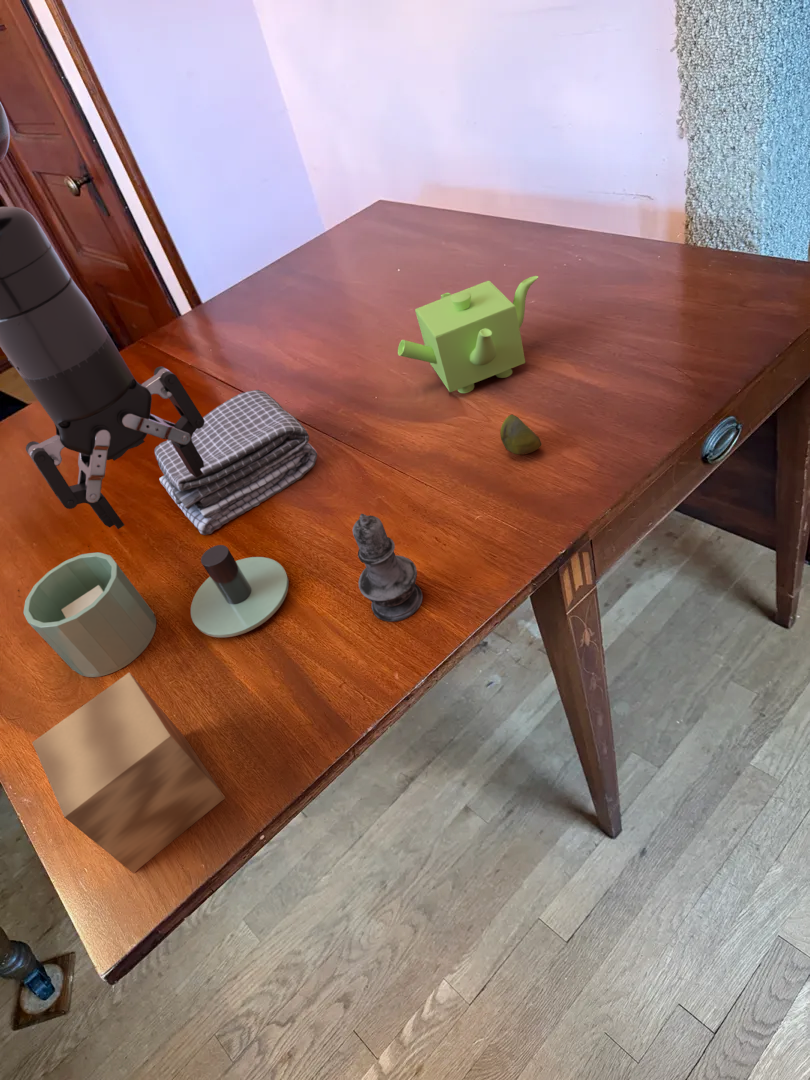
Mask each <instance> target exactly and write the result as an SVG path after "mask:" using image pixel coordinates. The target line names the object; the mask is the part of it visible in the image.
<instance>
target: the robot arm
mask: <svg viewBox="0 0 810 1080" xmlns="http://www.w3.org/2000/svg"><path fill="white" fill-rule="evenodd" d="M10 141H11V130H10V123H9V119H8V117H7V113H6V111H5V108H4V106H3V104H2V101H0V164H1V163H2V162H3V161H4V159H5V157H6V155H7V153H8V151H9V146H10ZM0 348H1V350H2V352H3V353H4V354H5V356H6V358H7V361H8V362H9V364H10V365H11V366H12V367H13V368H14V369H15V370H16V371H17V373H18V374H19V376H20V377H21V379H22V380H23V381H24V383H25V384H26V385H27V387H28V388H29V390H30V391H31V392H32V394H33V395H34V397H35V399H37V401H38V402H39V404H40V405H41V407H42V408H43V409H44V411H45V412H46V413H47V415H48V417H50V419H51V420H52V423H53V424H54V426H55V435H53V436H51V437H49V438H47V439H45V440H43V441H42V442H40V443H39V442H38V441H34V440H33V441H30V442H28V443H27V444H26V445H25V452H26V453H27V455H28V456H29V457H30V459H31V460H32V462H33V463H34V465H35V467H36V468H37V470H38V471H39V472H40V474H41V475H42V477H43V478H44V480H45V481H46V483H47V484H48V486H49V487H50V489H51V491H52V492H53V493H54V495H55V497H56V498H57V499H58V500H59V502H60V503H61V504H62V505H63V507H64V508H65V509H68V510H72V509H75V508H77V506H78V505H80V504H87V505H89V506H90V507H91V509H92V510H93V512H94V513H95V514H96V516H97V517H98V519H99V520H100V521H101V522H102V523H103V525H104V526H106V527H108V528H112V527H113V526H115V528H116V529H117V530H120V529H121V528H123V527H124V526H125V523H124V521H123V520H122V519H121V517H120V516H119V515H118V513H117V512H116V511H115V509H114V507H113V506H112V505H111V503H110V502H109V501H108V499H107V498H106V497H105V495H104V494H103V493H102V492H101V491H102V484H103V479H104V478H105V476H106V468H107V462H108V461H110V460H112V461H114V462H115V461H117V460H118V459H120V458H122V457H123V456H124V455H125V454H126V453H127V452H128V451H129V450H131V449H134V448H138V447H139V446H141V445H142V444H143V443H145V442H146V441H145V439H146V437H147V436H148V435H150V436H153V437H155V438H159V439H162V440H171V443H172V444H173V446H174V448H175V449H176V451H177V453H178V454H179V456H180V458H181V459H182V461H183V463H184V464H185V466H186V468H187V469H188V471H189V472H190V473H191V474H192V475H193V476H194V477H196V478H198V477H199V476H201V475H202V474H203V473H202V471H201V468H203V467H204V462H203V460H202V458H201V456H200V454H199V453H198V451H197V449H196V447H195V446H194V444H193V442H192V434H193V433H194V432H195V430H196V429H200V428H202V427H203V425H204V419H203V417H204V416H202V414H201V412H200V411H199V409H198V407H197V406H196V404H195V403H194V402H193V399H192V398H191V397H190V395H189V393H188V392H187V390H186V389H185V387H184V386H183V384H182V383H181V381H180V379H179V378H178V375H176V374H175V373H173V372H172V371H170V370H169V369H168V368H166V367H164V366H158V367H156V368H155V369H154V371H153V376H151V377H149V378H148V379H147V380H145V381H144V382H142V383H141V382H138V381H137V379H136V378H135V377H134V375H133V373H132V371H131V370H130V368H129V367H128V365H127V363H126V362H125V359H124V358H123V355H121V353H120V351H119V350H118V348H117V345H115V343H114V341H113V339H112V337H111V336H110V334H109V333H108V331H107V329H106V327H105V326H104V324H103V322H102V321H101V319H100V317H99V316H98V314H97V313H96V311H95V309H94V307H93V306H92V304H91V303H90V301H89V300H88V298H87V297H86V296H85V294H84V293H83V292H82V290H81V289H80V288H79V287H78V285H77V284H76V282H75V281H74V280H73V278H72V277H71V275H70V273H69V271H68V270H67V268H66V267H65V265H64V263H63V262H62V260H61V258H60V257H59V255H58V254H57V251H56V250H55V248H54V247H53V245H52V243H51V242H50V239H49V238H48V236H47V234H46V233H45V231H44V230H43V228H42V227H41V225H40V223H39V222H38V221H37V219H36V218H35V217H34V215H32V213H31V212H29V211H28V210H27V209H25V208H24V207H19V206H0ZM152 395H158V396H159V397H161V398H162V399H165V400H167V399H169V401H170V402H171V404H172V405H173V406H174V409H175V410H176V411H177V413H178V414H179V416H180V418H179V419H178V420H177V421H176V422H171V421H169V420H166V419H164V418H161V417H159V416H157V415H155V414H152V413H151V410H152V401H153V396H152ZM63 449H67V450H70V451H73V452H76V453H78V457H77V466H78V475H77V476H78V477H77V484H73V485H69V484H68V483H67V481H66V479H65V478H64V476H63V474H62V473H61V472H60V469H58V466H60V465H61V463H62V460H63V458H62V455H61V452H62V450H63Z"/></svg>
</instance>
